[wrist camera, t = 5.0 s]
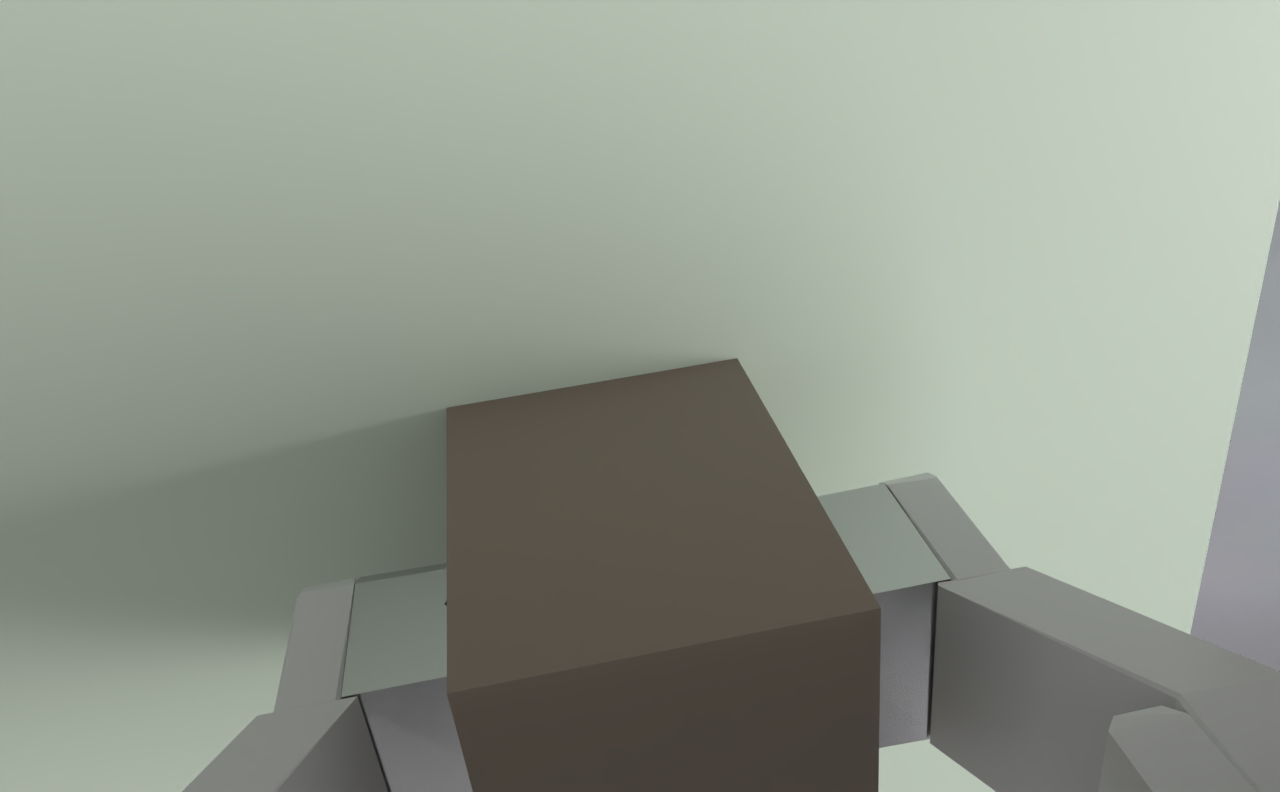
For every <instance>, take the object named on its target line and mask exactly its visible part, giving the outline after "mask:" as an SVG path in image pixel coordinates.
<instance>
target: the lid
mask: <svg viewBox="0 0 1280 792" xmlns="http://www.w3.org/2000/svg"><path fill="white" fill-rule="evenodd" d="M1279 200H1280V0H0V792H182V791H183V790H184V789H185V788H186V787H187V786H188V785H189V784H190V783H191V782H192V781H193V780H194V779H195V778H196V777H197V776H198V775H199V774H200V773H201V772H202V771H203V770H204V769H205V768H206V767H207V766H208V765H209V764H210V763H211V762H212V761H213V760H214V759H215V758H216V757H217V756H218V755H219V754H220V753H221V752H222V750H223V749H224V748H225V747H226V746H227V745H228V744H229V743H230V742H231V741H232V740H233V739H234V738H235V737H236V736H237V735H238V734H239V733H240V732H241V731H242V730H243V729H244V728H245V727H246V726H247V725H248V724H249V723H250V722H251V721H252V720H253V719H254V718H255V717H256V716H258V715H262V714H267V713H272V712H274V707H275V702H276V698H277V693H278V688H279V683H280V678H281V673H282V668H283V664H284V659H285V654H286V649H287V644H288V639H289V634H290V630H291V625H292V620H293V615H294V610H295V605H296V600H297V597H298V595H299V594H300V593H301V591H302V590H303V589H304V588H305V587H308V586H313V585H319V584H324V583H330V582H335V581H341V580H346V579H352V578H355V579H359V577H363V576H370V575H376V574H382V573H388V572H394V571H400V570H407V569H413V568H419V567H425V566H431V565H437V564H444V563H447V696H448V700H449V704H450V707H451V711H452V715H453V719H454V723H455V726H456V730H457V734H458V738H459V741H460V745H461V749H462V753H463V756H464V760H465V764H466V768H467V772H468V775H469V779H470V783H471V787H472V790H473V792H996V791H994V790H993V789H992V788H990V787H989V786H987V785H986V784H985V783H983V782H982V781H981V780H979V779H978V778H977V777H975V776H974V775H972V774H971V773H970V772H968V771H967V770H966V769H964V768H963V767H962V766H960V765H959V764H957V763H956V762H955V761H953V760H952V759H951V758H949V757H948V756H947V755H945V754H944V753H942V752H941V751H940V750H938V749H937V748H936V747H934V746H933V745H932V744H930V739H927V740H921V741H916V742H910V743H905V744H899V745H893V746H888V747H882V748H879V714H880V644H881V607H880V605H879V604H878V602H877V600H876V598H875V597H874V595H873V593H872V591H871V590H870V588H869V586H868V585H867V583H866V581H865V579H864V578H863V576H862V574H861V572H860V571H859V569H858V567H857V565H856V564H855V562H854V560H853V558H852V557H851V555H850V553H849V551H848V550H847V548H846V546H845V545H844V543H843V541H842V539H841V538H840V536H839V534H838V532H837V531H836V529H835V527H834V525H833V524H832V522H831V520H830V518H829V517H828V515H827V513H826V511H825V510H824V508H823V506H822V505H821V503H820V501H819V499H818V498H817V496H821V495H826V494H831V493H836V492H842V491H847V490H852V489H857V488H862V487H868V486H873V485H878V484H879V483H880V482H885V481H889V480H894V479H899V478H903V477H908V476H913V475H917V474H922V473H927V472H928V473H930V474H933V475H935V476H937V477H938V479H939V480H940V481H941V482H942V484H943V485H944V486H945V487H946V489H947V490H948V491H949V492H950V494H951V495H952V496H953V497H954V499H955V500H956V501H957V502H958V504H959V505H960V506H961V507H962V509H963V510H964V511H965V512H966V514H967V515H968V516H969V517H970V519H971V520H972V521H973V522H974V524H975V525H976V526H977V527H978V529H979V530H980V531H981V532H982V534H983V535H984V536H985V537H986V539H987V540H988V541H989V542H990V544H991V545H992V546H993V547H994V549H995V550H996V551H997V552H998V554H999V555H1000V556H1001V557H1002V559H1003V560H1004V561H1005V562H1006V564H1007V565H1008V566H1009V567H1010V569H1014V568H1020V567H1025V566H1026V567H1028V568H1031V569H1033V570H1036V571H1038V572H1040V573H1043V574H1045V575H1048V576H1050V577H1053V578H1055V579H1057V580H1060V581H1062V582H1065V583H1067V584H1069V585H1072V586H1074V587H1077V588H1079V589H1081V590H1084V591H1086V592H1089V593H1091V594H1094V595H1096V596H1098V597H1101V598H1103V599H1106V600H1108V601H1110V602H1113V603H1115V604H1118V605H1120V606H1122V607H1125V608H1127V609H1130V610H1132V611H1135V612H1137V613H1139V614H1142V615H1144V616H1147V617H1149V618H1151V619H1154V620H1156V621H1159V622H1161V623H1163V624H1166V625H1168V626H1171V627H1173V628H1176V629H1178V630H1180V631H1183V632H1185V633H1188V634H1190V632H1191V627H1192V622H1193V617H1194V613H1195V608H1196V603H1197V598H1198V593H1199V588H1200V583H1201V579H1202V574H1203V569H1204V564H1205V559H1206V554H1207V549H1208V545H1209V540H1210V535H1211V530H1212V525H1213V520H1214V516H1215V511H1216V506H1217V501H1218V496H1219V491H1220V486H1221V482H1222V477H1223V472H1224V467H1225V462H1226V457H1227V453H1228V448H1229V443H1230V438H1231V433H1232V428H1233V423H1234V419H1235V414H1236V409H1237V404H1238V399H1239V394H1240V390H1241V385H1242V380H1243V375H1244V370H1245V365H1246V360H1247V356H1248V351H1249V346H1250V341H1251V336H1252V331H1253V326H1254V322H1255V317H1256V312H1257V307H1258V302H1259V297H1260V293H1261V288H1262V283H1263V278H1264V273H1265V268H1266V263H1267V259H1268V254H1269V249H1270V244H1271V239H1272V234H1273V230H1274V225H1275V220H1276V215H1277V210H1278V205H1279Z"/></svg>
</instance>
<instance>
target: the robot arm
mask: <svg viewBox="0 0 1280 792" xmlns="http://www.w3.org/2000/svg"><path fill="white" fill-rule="evenodd" d="M817 498H818V499H819V501H820V503H821V505H822V506H823V508H824V510H825V511H826V513H827V515H828V517H829V518H830V520H831V522H832V524H833V525H834V527H835V529H836V531H837V532H838V534H839V536H840V538H841V539H842V541H843V543H844V545H845V546H846V548H847V550H848V551H849V553H850V555H851V557H852V558H853V560H854V562H855V564H856V565H857V567H858V569H859V571H860V572H861V574H862V576H863V578H864V579H865V581H866V583H867V585H868V586H869V588H870V590H871V591H872V593H873V595H874V597H875V598H876V600H877V602H878V604H879V605H880V607H881V644H880V714H879V748H882V747H888V746H893V745H899V744H905V743H910V742H916V741H921V740H927V739H930V744H932V745H933V746H934V747H936V748H937V749H938V750H940V751H941V752H942V753H944V754H945V755H947V756H948V757H949V758H951V759H952V760H953V761H955V762H956V763H957V764H959V765H960V766H962V767H963V768H964V769H966V770H967V771H968V772H970V773H971V774H972V775H974V776H975V777H977V778H978V779H979V780H981V781H982V782H983V783H985V784H986V785H987V786H989V787H990V788H992V789H993V790H994V791H996V792H1280V672H1279V671H1277V670H1274V669H1272V668H1270V667H1267V666H1265V665H1262V664H1260V663H1258V662H1255V661H1253V660H1250V659H1248V658H1245V657H1243V656H1241V655H1238V654H1236V653H1233V652H1231V651H1229V650H1226V649H1224V648H1221V647H1219V646H1217V645H1214V644H1212V643H1209V642H1207V641H1204V640H1202V639H1200V638H1197V637H1195V636H1192V635H1190V634H1188V633H1185V632H1183V631H1180V630H1178V629H1176V628H1173V627H1171V626H1168V625H1166V624H1163V623H1161V622H1159V621H1156V620H1154V619H1151V618H1149V617H1147V616H1144V615H1142V614H1139V613H1137V612H1135V611H1132V610H1130V609H1127V608H1125V607H1122V606H1120V605H1118V604H1115V603H1113V602H1110V601H1108V600H1106V599H1103V598H1101V597H1098V596H1096V595H1094V594H1091V593H1089V592H1086V591H1084V590H1081V589H1079V588H1077V587H1074V586H1072V585H1069V584H1067V583H1065V582H1062V581H1060V580H1057V579H1055V578H1053V577H1050V576H1048V575H1045V574H1043V573H1040V572H1038V571H1036V570H1033V569H1031V568H1028V567H1026V566H1025V567H1020V568H1014V569H1010V567H1009V566H1008V565H1007V564H1006V562H1005V561H1004V560H1003V559H1002V557H1001V556H1000V555H999V554H998V552H997V551H996V550H995V549H994V547H993V546H992V545H991V544H990V542H989V541H988V540H987V539H986V537H985V536H984V535H983V534H982V532H981V531H980V530H979V529H978V527H977V526H976V525H975V524H974V522H973V521H972V520H971V519H970V517H969V516H968V515H967V514H966V512H965V511H964V510H963V509H962V507H961V506H960V505H959V504H958V502H957V501H956V500H955V499H954V497H953V496H952V495H951V494H950V492H949V491H948V490H947V489H946V487H945V486H944V485H943V484H942V482H941V481H940V480H939V479H938V477H937V476H935V475H933V474H930V473H928V472H927V473H922V474H917V475H913V476H908V477H903V478H899V479H894V480H889V481H885V482H880V483H879V484H878V485H873V486H868V487H862V488H857V489H852V490H847V491H842V492H836V493H831V494H826V495H821V496H817ZM182 792H473V790H472V787H471V783H470V779H469V775H468V772H467V768H466V764H465V760H464V756H463V753H462V749H461V745H460V741H459V738H458V734H457V730H456V726H455V723H454V719H453V715H452V711H451V707H450V704H449V700H448V696H447V563H444V564H437V565H431V566H425V567H419V568H413V569H407V570H400V571H394V572H388V573H382V574H376V575H370V576H363V577H359V579H355V578H352V579H346V580H341V581H335V582H330V583H324V584H319V585H313V586H308V587H305V588H304V589H303V590H302V591H301V593H300V594H299V595H298V597H297V600H296V605H295V610H294V615H293V620H292V625H291V630H290V634H289V639H288V644H287V649H286V654H285V659H284V664H283V668H282V673H281V678H280V683H279V688H278V693H277V698H276V702H275V707H274V712H272V713H267V714H262V715H258V716H256V717H255V718H254V719H253V720H252V721H251V722H250V723H249V724H248V725H247V726H246V727H245V728H244V729H243V730H242V731H241V732H240V733H239V734H238V735H237V736H236V737H235V738H234V739H233V740H232V741H231V742H230V743H229V744H228V745H227V746H226V747H225V748H224V749H223V750H222V752H221V753H220V754H219V755H218V756H217V757H216V758H215V759H214V760H213V761H212V762H211V763H210V764H209V765H208V766H207V767H206V768H205V769H204V770H203V771H202V772H201V773H200V774H199V775H198V776H197V777H196V778H195V779H194V780H193V781H192V782H191V783H190V784H189V785H188V786H187V787H186V788H185V789H184V790H183V791H182Z"/></svg>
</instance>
